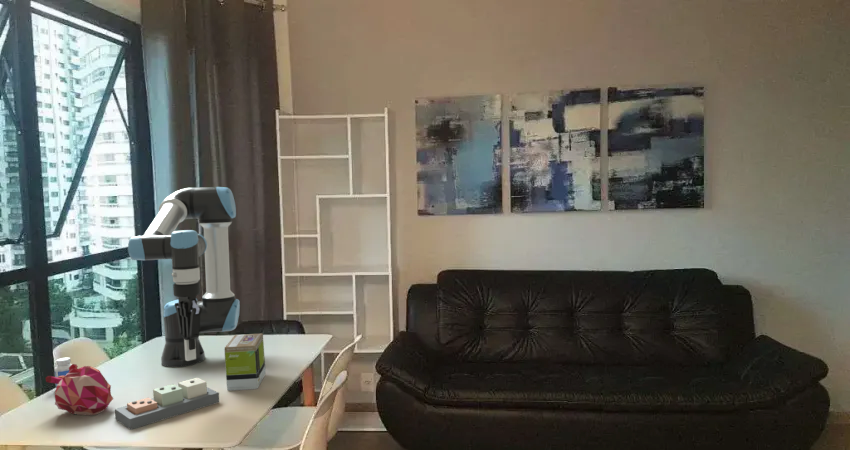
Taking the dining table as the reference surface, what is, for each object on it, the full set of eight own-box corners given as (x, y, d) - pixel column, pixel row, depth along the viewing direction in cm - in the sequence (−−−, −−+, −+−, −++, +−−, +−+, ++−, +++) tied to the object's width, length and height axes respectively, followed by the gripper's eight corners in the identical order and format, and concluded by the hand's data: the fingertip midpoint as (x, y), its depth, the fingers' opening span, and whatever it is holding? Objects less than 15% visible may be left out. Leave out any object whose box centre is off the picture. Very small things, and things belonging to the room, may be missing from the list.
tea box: (236, 375, 208) (234, 333, 207) (266, 374, 209) (264, 332, 208) (226, 391, 193) (223, 346, 192) (258, 389, 194) (256, 344, 193)
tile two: (153, 402, 178) (153, 388, 177) (173, 396, 182) (173, 382, 182) (162, 407, 174) (161, 393, 173) (183, 401, 178) (182, 387, 178)
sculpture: (130, 401, 184) (86, 371, 191) (120, 377, 176) (75, 346, 183) (90, 436, 175) (45, 403, 181) (78, 412, 166) (31, 378, 173)
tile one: (178, 395, 183) (178, 381, 183) (197, 390, 188) (197, 376, 187) (187, 400, 179) (187, 386, 179) (207, 394, 184) (206, 380, 183)
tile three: (127, 417, 173) (126, 402, 172) (149, 410, 177) (148, 396, 177) (136, 422, 168) (135, 407, 168) (157, 416, 173) (157, 401, 172)
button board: (115, 419, 172) (114, 408, 172) (202, 393, 191) (201, 384, 191) (130, 429, 165) (129, 419, 165) (219, 402, 184) (218, 392, 184)
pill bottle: (78, 386, 201) (76, 357, 200) (64, 391, 196) (62, 362, 195) (66, 384, 203) (64, 356, 202) (52, 389, 198) (49, 360, 197)
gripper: (164, 281, 182) (168, 358, 184) (184, 286, 173) (188, 366, 175) (188, 278, 188) (192, 352, 189) (209, 282, 179) (212, 360, 181)
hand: (190, 359), depth 182 cm, fingers closed
